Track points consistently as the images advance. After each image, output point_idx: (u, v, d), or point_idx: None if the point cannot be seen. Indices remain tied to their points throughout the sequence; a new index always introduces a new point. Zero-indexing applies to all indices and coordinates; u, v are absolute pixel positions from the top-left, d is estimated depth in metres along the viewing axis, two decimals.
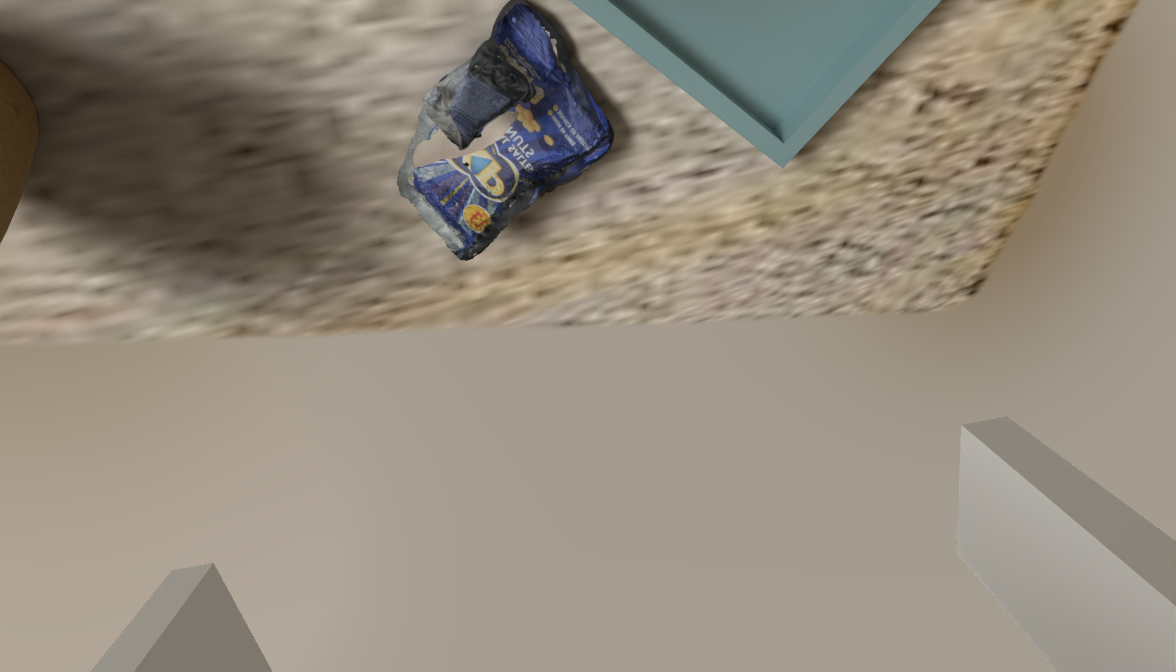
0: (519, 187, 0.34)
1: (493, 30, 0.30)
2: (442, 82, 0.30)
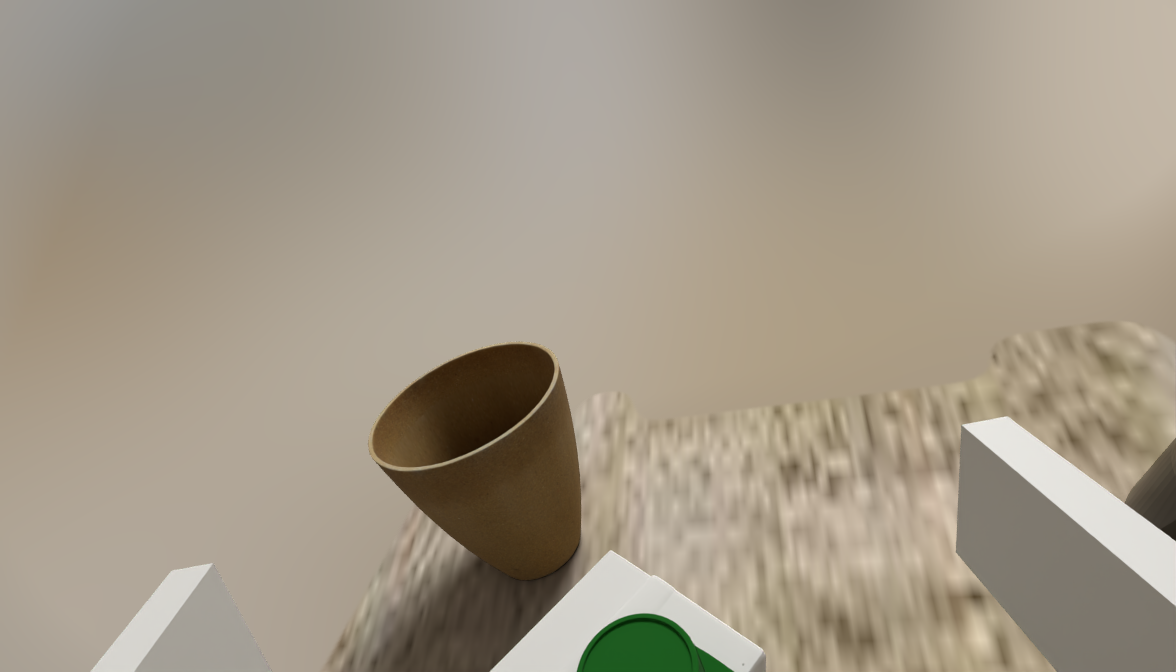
0: None
1: None
2: None
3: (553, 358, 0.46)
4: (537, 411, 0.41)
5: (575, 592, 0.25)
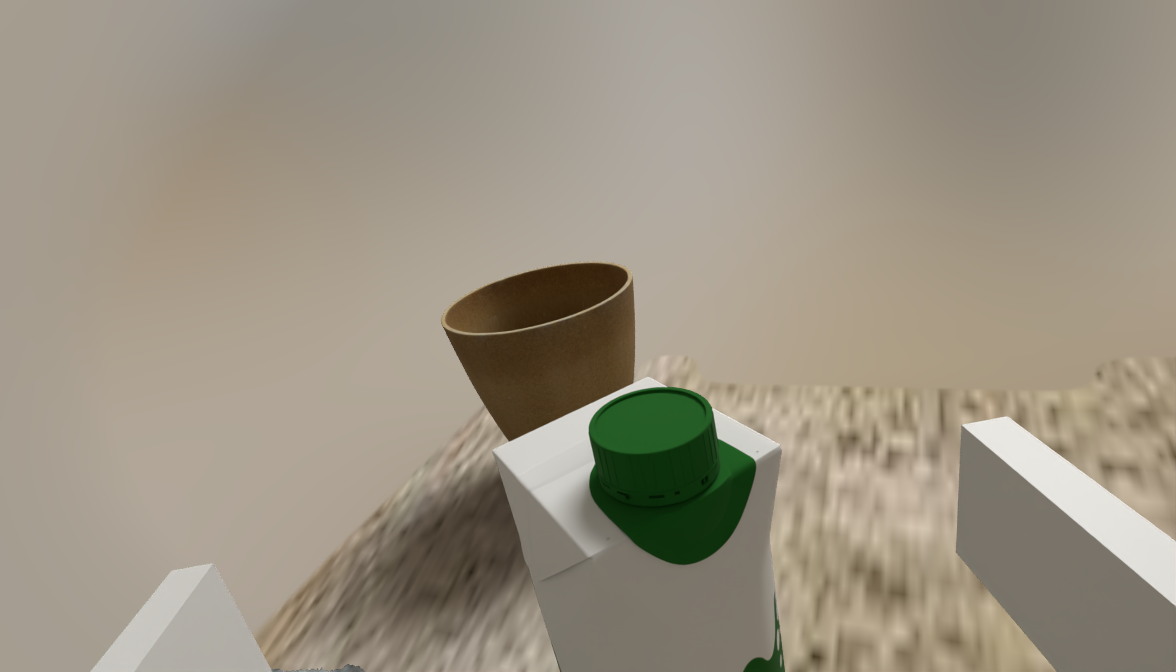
0: None
1: None
2: None
3: (628, 272, 0.47)
4: (603, 304, 0.42)
5: (606, 399, 0.26)
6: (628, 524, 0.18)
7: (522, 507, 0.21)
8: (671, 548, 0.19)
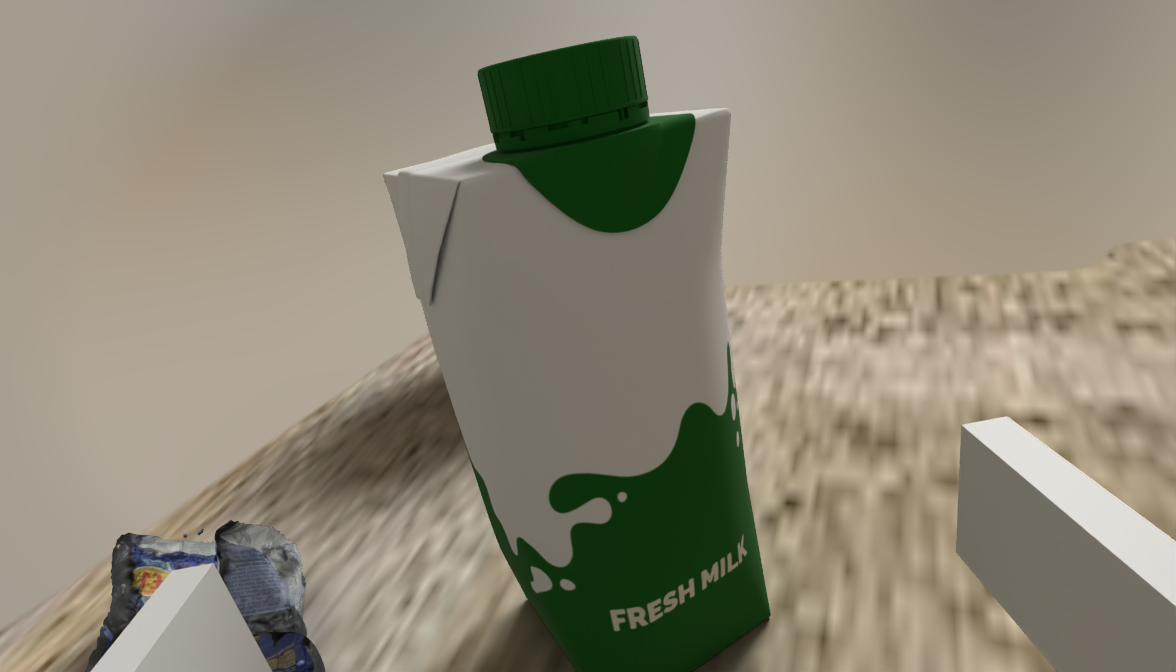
0: None
1: (307, 638, 0.25)
2: (299, 574, 0.27)
3: None
4: None
5: None
6: (518, 157, 0.14)
7: (404, 205, 0.17)
8: (578, 200, 0.14)
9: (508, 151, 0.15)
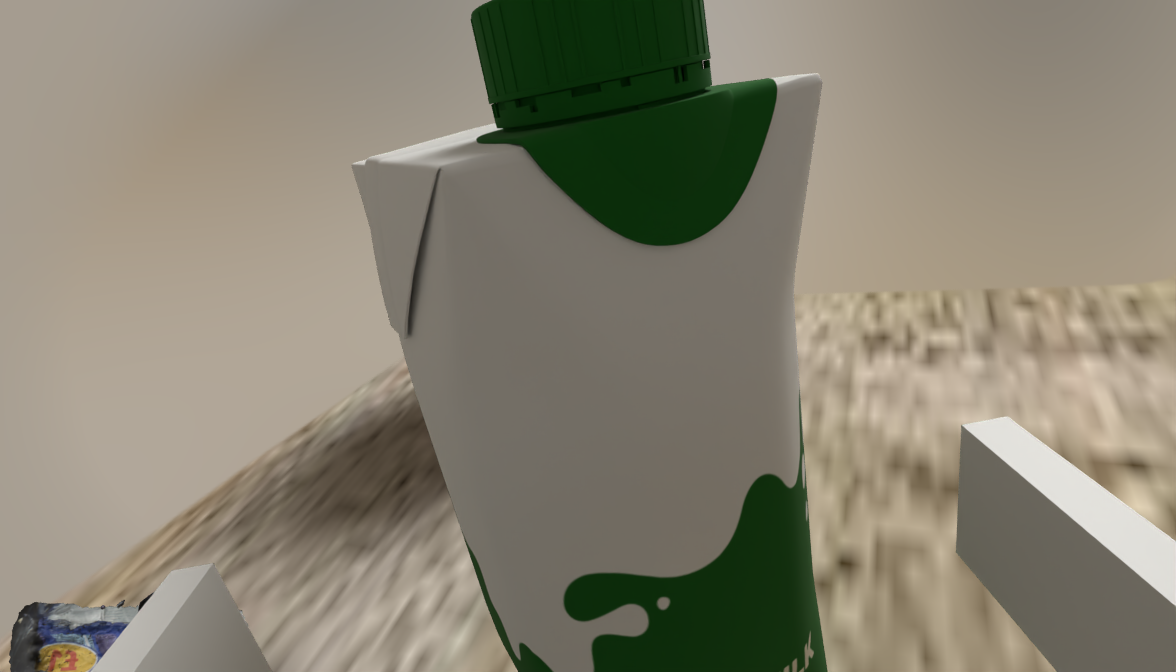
0: None
1: None
2: None
3: None
4: None
5: None
6: (528, 134, 0.09)
7: (372, 204, 0.12)
8: (614, 198, 0.10)
9: (513, 129, 0.11)
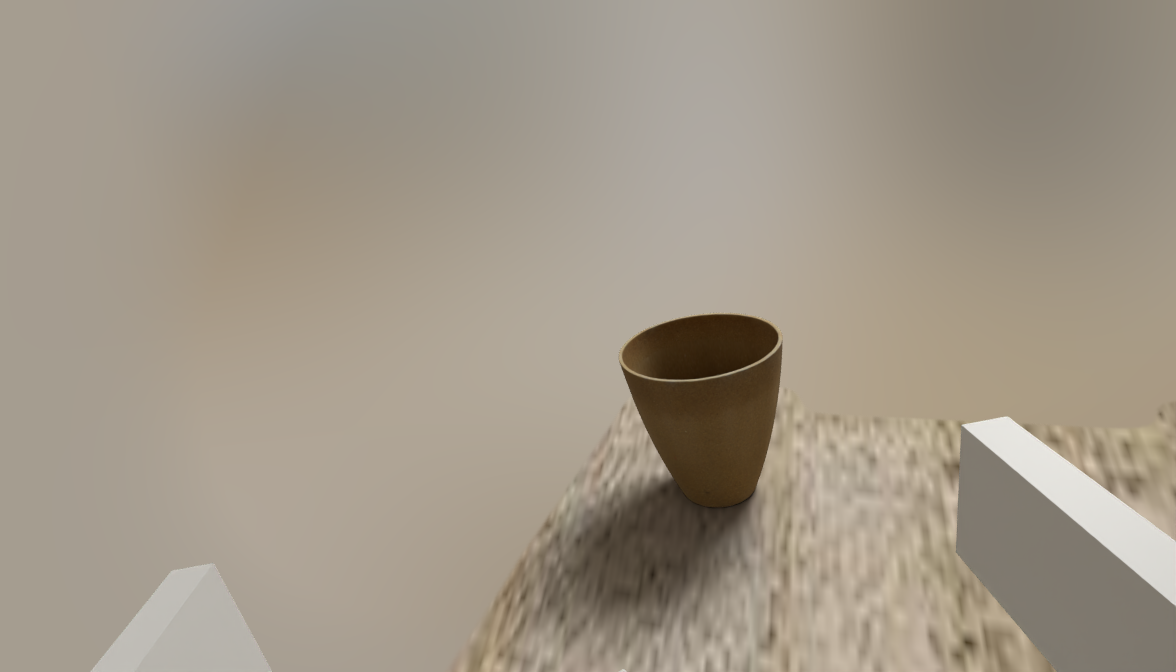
0: None
1: None
2: None
3: (775, 327, 0.57)
4: (769, 357, 0.52)
5: None
6: None
7: None
8: None
9: None
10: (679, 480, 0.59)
